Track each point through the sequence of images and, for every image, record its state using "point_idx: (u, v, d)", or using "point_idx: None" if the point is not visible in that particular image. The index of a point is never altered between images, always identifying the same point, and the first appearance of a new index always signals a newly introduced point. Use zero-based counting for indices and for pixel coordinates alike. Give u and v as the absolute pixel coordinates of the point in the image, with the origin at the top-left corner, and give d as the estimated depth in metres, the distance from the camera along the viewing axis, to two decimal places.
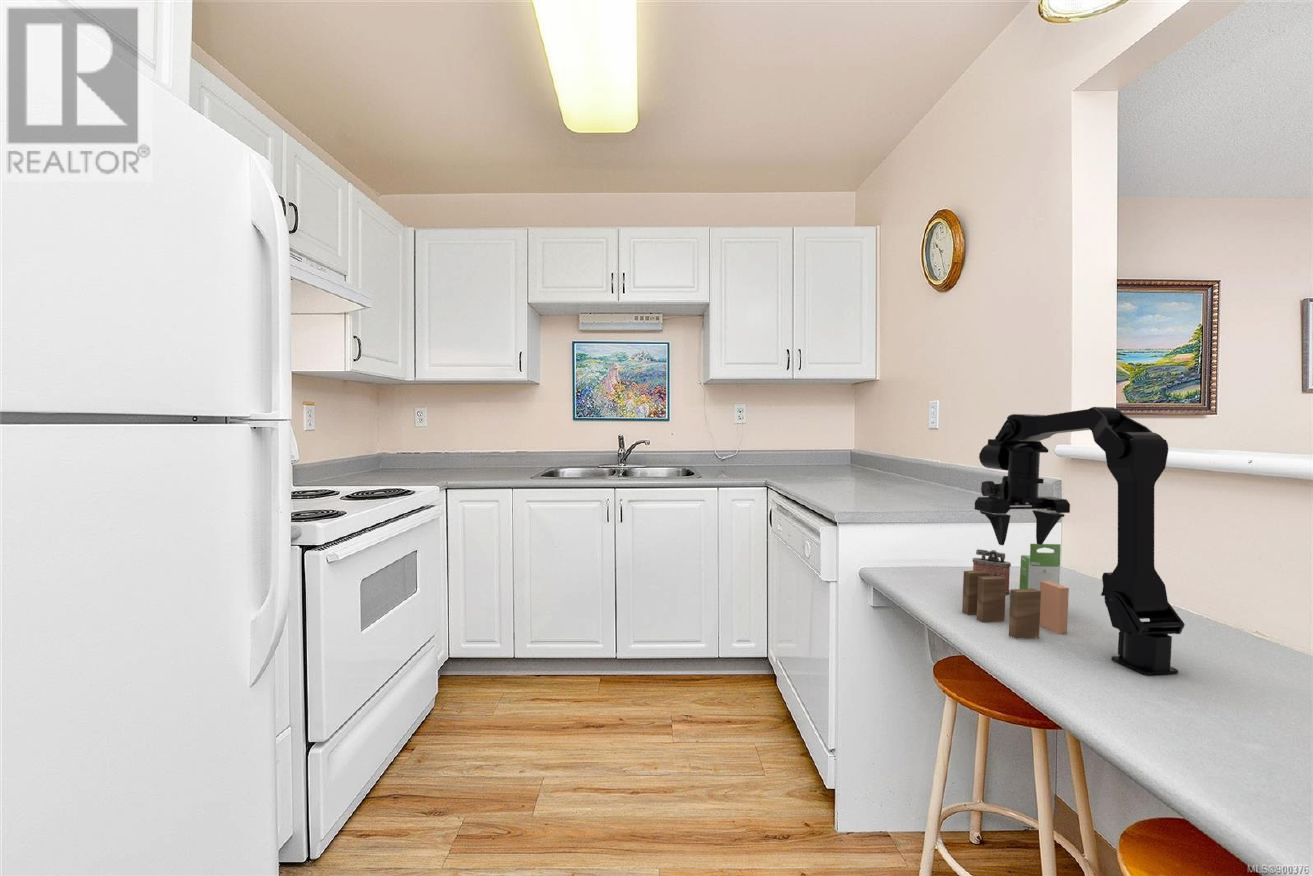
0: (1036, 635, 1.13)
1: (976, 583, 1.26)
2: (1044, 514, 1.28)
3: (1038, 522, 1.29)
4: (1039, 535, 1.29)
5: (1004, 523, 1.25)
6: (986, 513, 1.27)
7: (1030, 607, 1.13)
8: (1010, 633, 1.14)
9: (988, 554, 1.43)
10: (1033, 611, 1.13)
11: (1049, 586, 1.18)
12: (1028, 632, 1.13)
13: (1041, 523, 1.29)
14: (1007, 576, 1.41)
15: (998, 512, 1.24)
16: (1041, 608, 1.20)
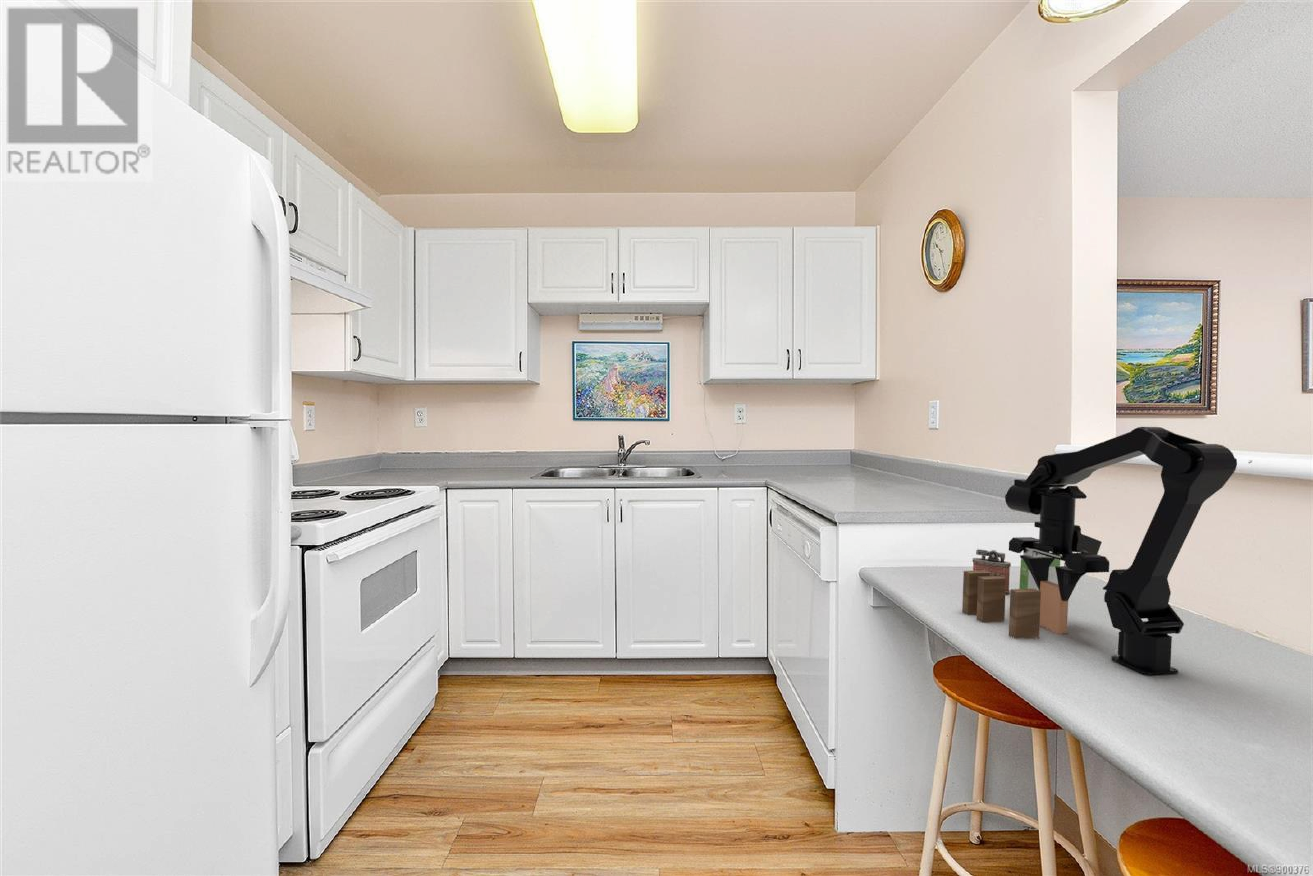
0: (1036, 635, 1.13)
1: (976, 583, 1.26)
2: None
3: None
4: None
5: (1028, 566, 1.22)
6: None
7: (1030, 607, 1.13)
8: (1010, 633, 1.14)
9: (988, 554, 1.43)
10: (1033, 611, 1.13)
11: (1049, 586, 1.18)
12: (1028, 632, 1.13)
13: None
14: (1007, 576, 1.41)
15: (1011, 550, 1.25)
16: (1041, 608, 1.20)
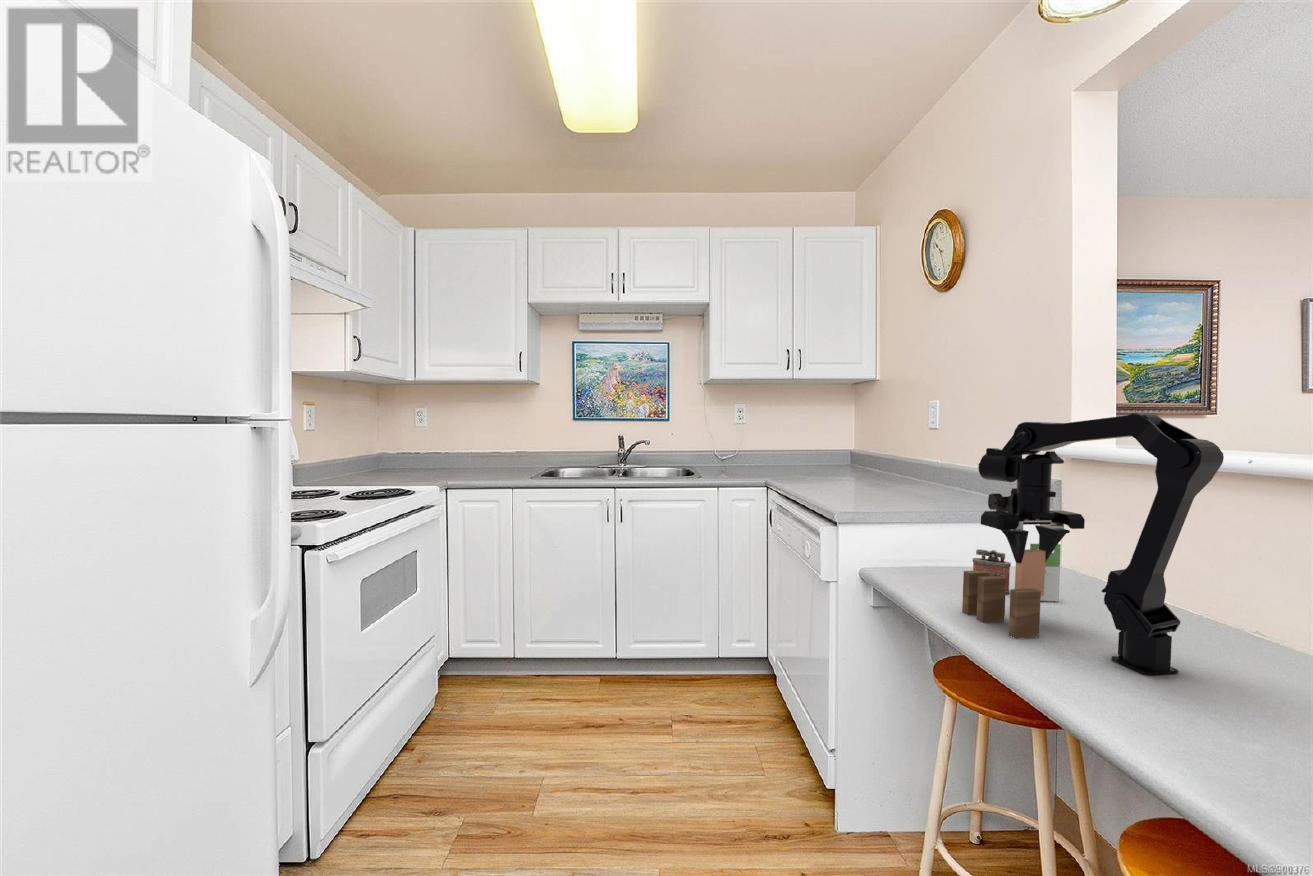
0: (1036, 635, 1.13)
1: (976, 583, 1.26)
2: (1047, 530, 1.18)
3: (1041, 538, 1.20)
4: None
5: (1022, 539, 1.16)
6: None
7: (1030, 607, 1.13)
8: (1010, 633, 1.14)
9: (988, 554, 1.43)
10: (1033, 611, 1.13)
11: (1033, 553, 1.18)
12: (1028, 632, 1.13)
13: (1044, 540, 1.19)
14: (1007, 576, 1.41)
15: (1006, 528, 1.14)
16: (1024, 578, 1.18)
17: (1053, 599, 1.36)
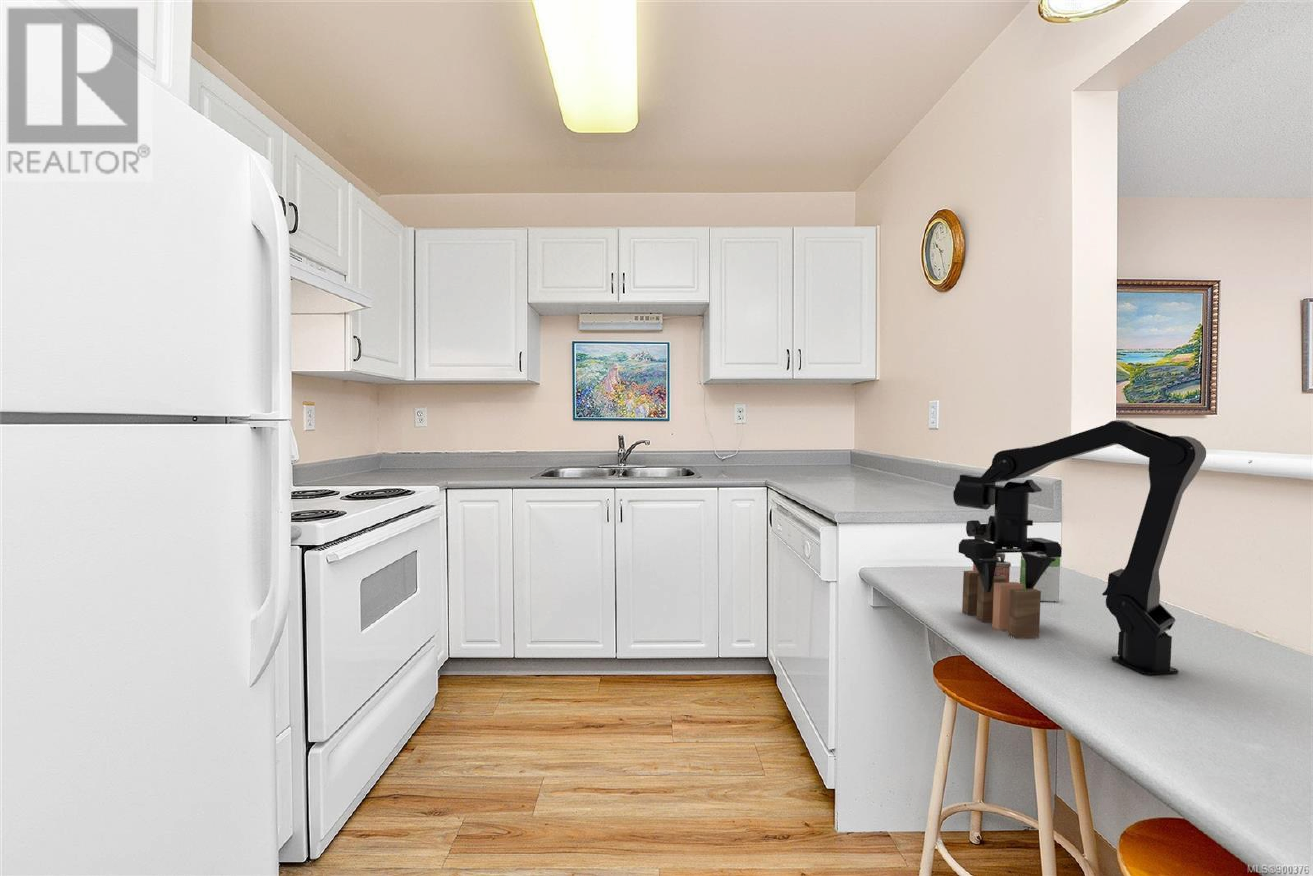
0: (1036, 635, 1.13)
1: (976, 583, 1.26)
2: (1034, 558, 1.18)
3: (1027, 566, 1.20)
4: (1028, 580, 1.19)
5: (990, 569, 1.15)
6: (971, 557, 1.17)
7: (1030, 607, 1.13)
8: (1010, 633, 1.14)
9: None
10: (1033, 611, 1.13)
11: (1010, 587, 1.17)
12: (1028, 632, 1.13)
13: (1030, 568, 1.19)
14: (1007, 576, 1.41)
15: (983, 557, 1.14)
16: (1002, 612, 1.17)
17: (1053, 599, 1.36)
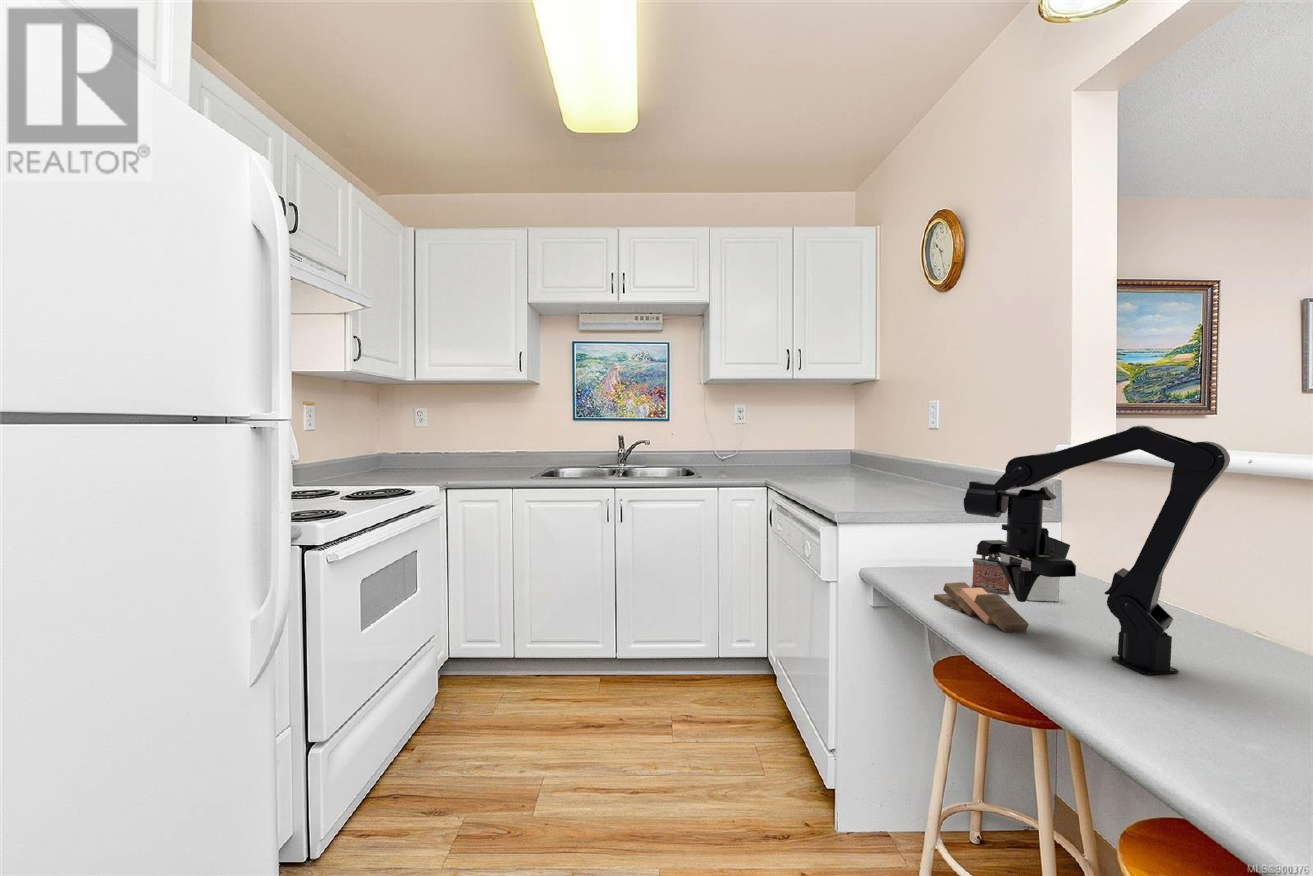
0: (1024, 622, 1.17)
1: (947, 597, 1.35)
2: None
3: None
4: None
5: (1005, 573, 1.16)
6: None
7: (999, 604, 1.21)
8: (1002, 628, 1.16)
9: None
10: (1004, 606, 1.21)
11: (972, 589, 1.28)
12: (1014, 620, 1.17)
13: None
14: None
15: (979, 553, 1.22)
16: None
17: (1053, 599, 1.36)
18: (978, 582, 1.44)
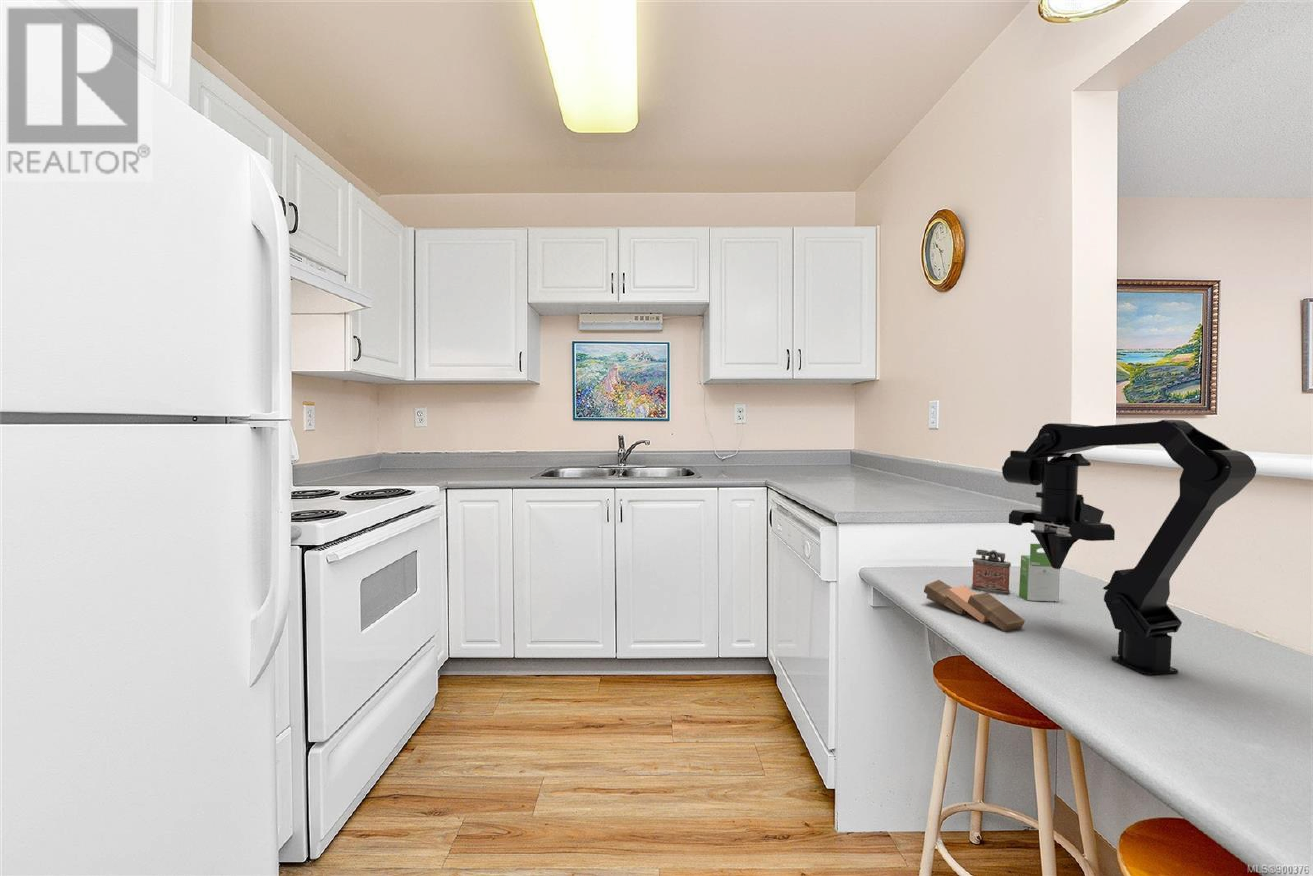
0: (1020, 619, 1.18)
1: None
2: None
3: None
4: None
5: (1039, 540, 1.16)
6: None
7: (992, 603, 1.22)
8: (1002, 628, 1.17)
9: (988, 554, 1.43)
10: (997, 605, 1.21)
11: (957, 588, 1.29)
12: (1011, 618, 1.18)
13: None
14: (1007, 576, 1.41)
15: (1011, 522, 1.22)
16: None
17: (1053, 599, 1.36)
18: (978, 582, 1.44)
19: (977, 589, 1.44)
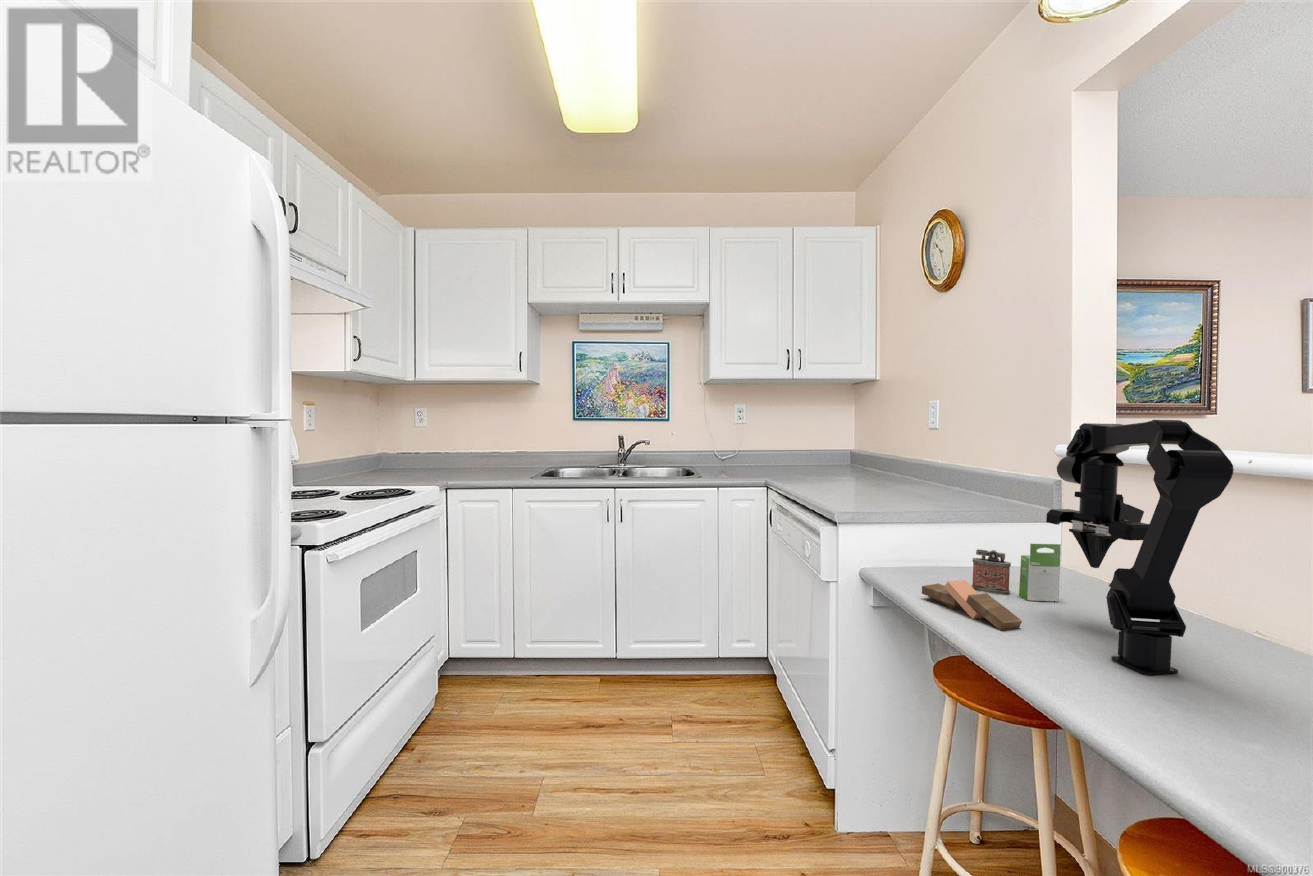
0: (1018, 619, 1.18)
1: None
2: None
3: None
4: None
5: (1078, 539, 1.17)
6: None
7: (990, 603, 1.23)
8: (998, 626, 1.18)
9: (988, 554, 1.43)
10: (996, 605, 1.22)
11: (957, 582, 1.30)
12: (1008, 618, 1.18)
13: None
14: (1007, 576, 1.41)
15: (1049, 521, 1.23)
16: (966, 599, 1.26)
17: (1053, 599, 1.36)
18: (978, 582, 1.44)
19: (977, 589, 1.44)
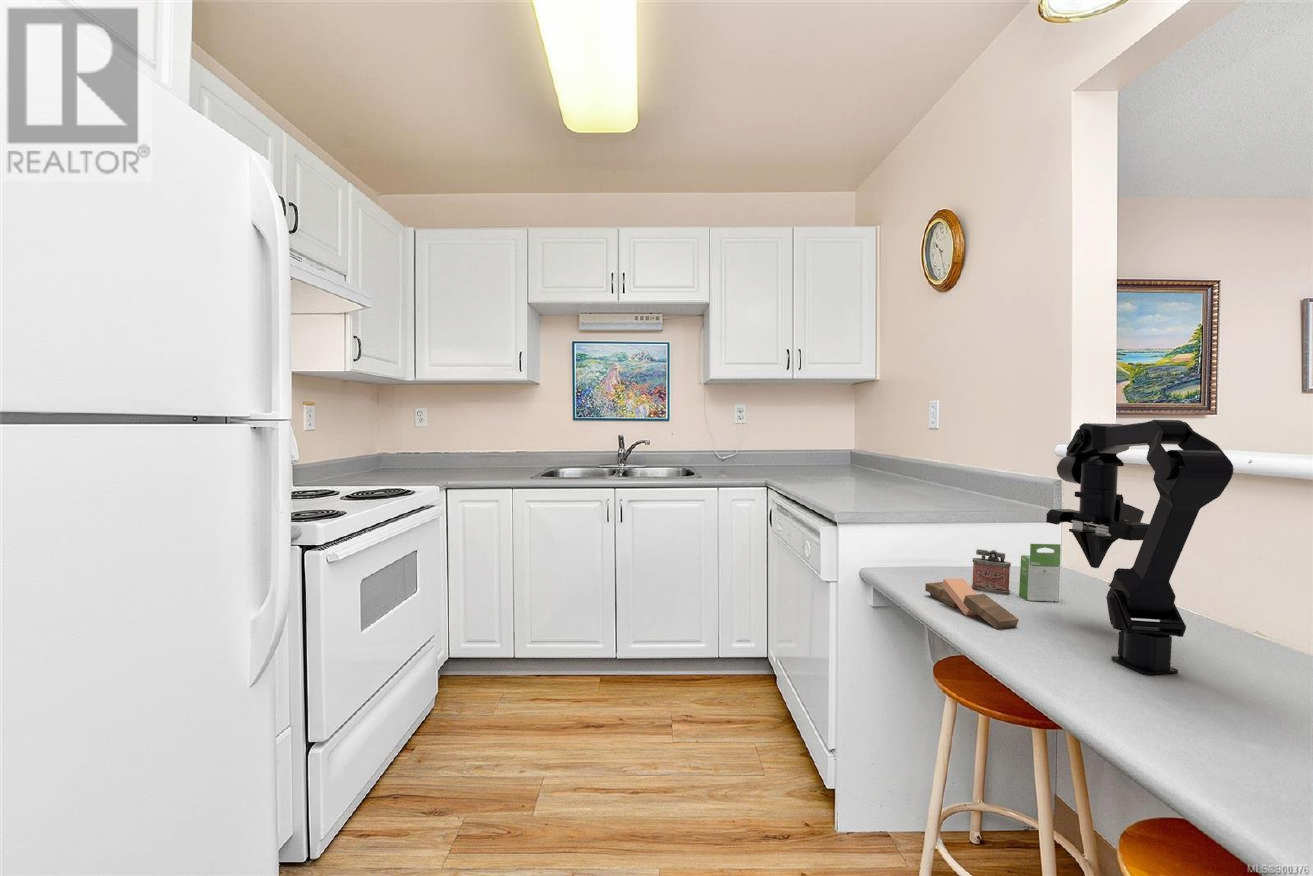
0: (1014, 618, 1.19)
1: None
2: None
3: None
4: None
5: (1078, 539, 1.17)
6: None
7: (987, 602, 1.23)
8: (994, 625, 1.18)
9: (988, 554, 1.43)
10: (992, 604, 1.23)
11: (954, 580, 1.32)
12: (1004, 616, 1.19)
13: None
14: (1007, 576, 1.41)
15: (1049, 521, 1.23)
16: (961, 596, 1.28)
17: (1053, 599, 1.36)
18: (978, 582, 1.44)
19: (977, 589, 1.44)
